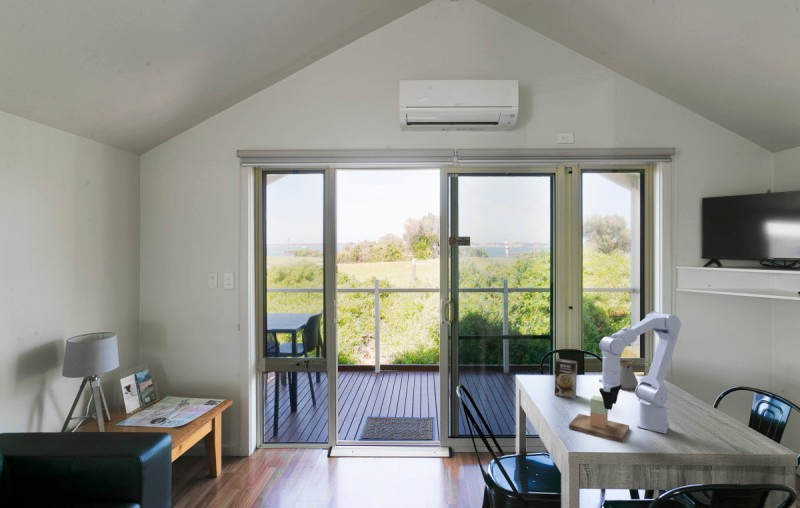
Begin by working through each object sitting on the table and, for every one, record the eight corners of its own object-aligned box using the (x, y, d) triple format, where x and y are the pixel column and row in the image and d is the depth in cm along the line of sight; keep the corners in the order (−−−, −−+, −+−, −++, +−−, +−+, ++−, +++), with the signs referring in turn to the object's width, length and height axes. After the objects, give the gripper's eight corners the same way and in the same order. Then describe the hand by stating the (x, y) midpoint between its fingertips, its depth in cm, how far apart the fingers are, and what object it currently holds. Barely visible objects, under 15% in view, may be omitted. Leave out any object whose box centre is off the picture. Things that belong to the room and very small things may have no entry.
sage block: (607, 411, 157) (607, 398, 157) (605, 415, 153) (605, 401, 153) (593, 408, 160) (593, 395, 160) (590, 412, 156) (590, 398, 156)
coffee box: (554, 395, 193) (554, 360, 193) (556, 391, 199) (556, 357, 198) (575, 399, 189) (576, 363, 189) (576, 394, 194) (577, 360, 194)
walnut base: (629, 429, 156) (629, 425, 156) (622, 442, 145) (622, 438, 145) (578, 417, 167) (578, 413, 167) (568, 428, 156) (569, 424, 156)
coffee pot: (611, 382, 214) (611, 353, 214) (636, 385, 210) (636, 356, 210) (615, 395, 194) (615, 363, 194) (643, 399, 190) (643, 366, 190)
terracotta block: (607, 424, 157) (607, 411, 157) (604, 428, 153) (604, 415, 153) (593, 421, 160) (593, 408, 160) (590, 425, 156) (590, 411, 156)
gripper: (603, 363, 162) (603, 398, 162) (594, 371, 151) (594, 409, 151) (623, 367, 158) (623, 402, 158) (616, 375, 147) (615, 413, 147)
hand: (610, 406), depth 154 cm, fingers open, 7 cm apart
